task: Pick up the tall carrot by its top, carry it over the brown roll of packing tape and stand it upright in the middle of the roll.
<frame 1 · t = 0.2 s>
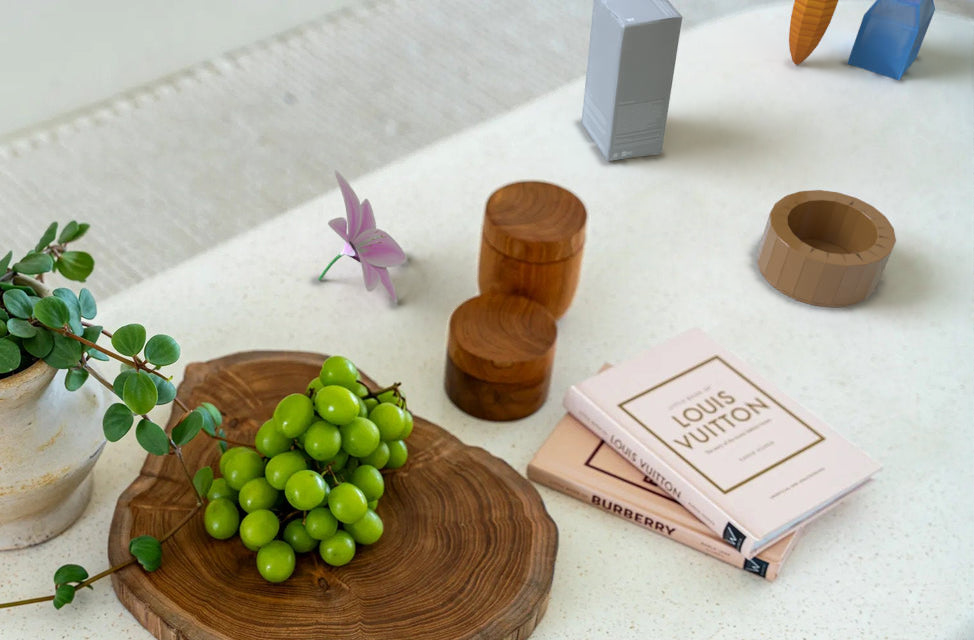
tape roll: (816, 268, 110), on the table
carrot: (795, 65, 135), on the table
cosmetic box: (615, 139, 125), on the table
lily: (363, 283, 108), on the table
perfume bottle: (881, 62, 136), on the table
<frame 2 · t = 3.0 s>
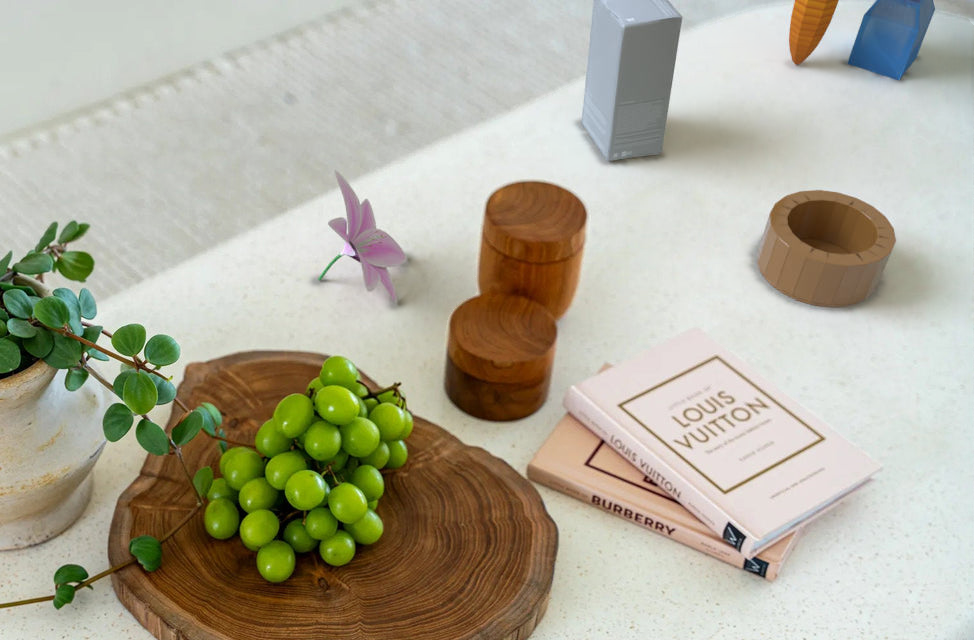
carrot: (795, 65, 135), on the table, touching gripper
everything else where it was.
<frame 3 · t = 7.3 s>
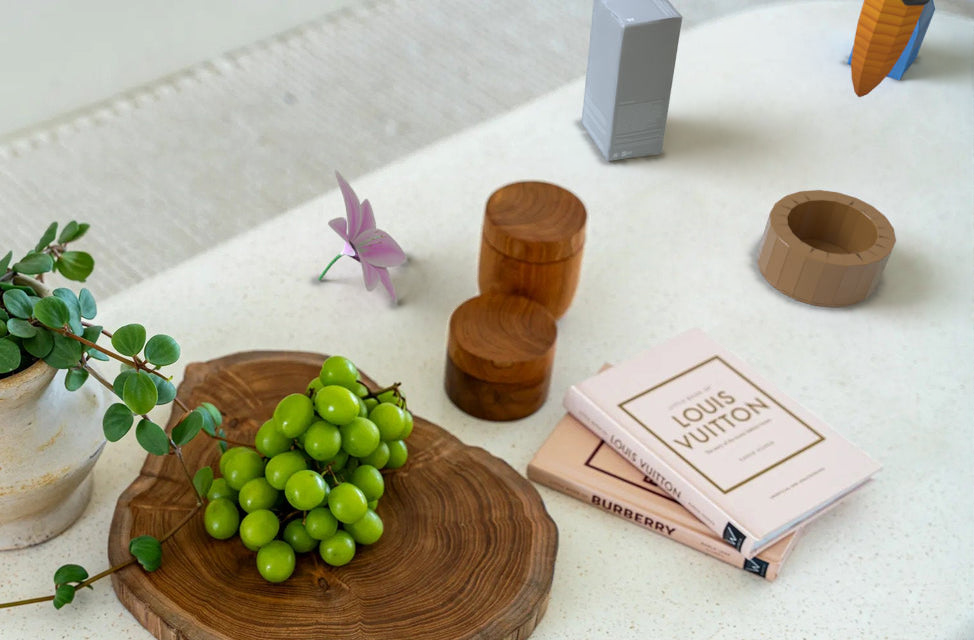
carrot: (858, 98, 103), point 15 cm above the table, touching gripper
everything else where it was.
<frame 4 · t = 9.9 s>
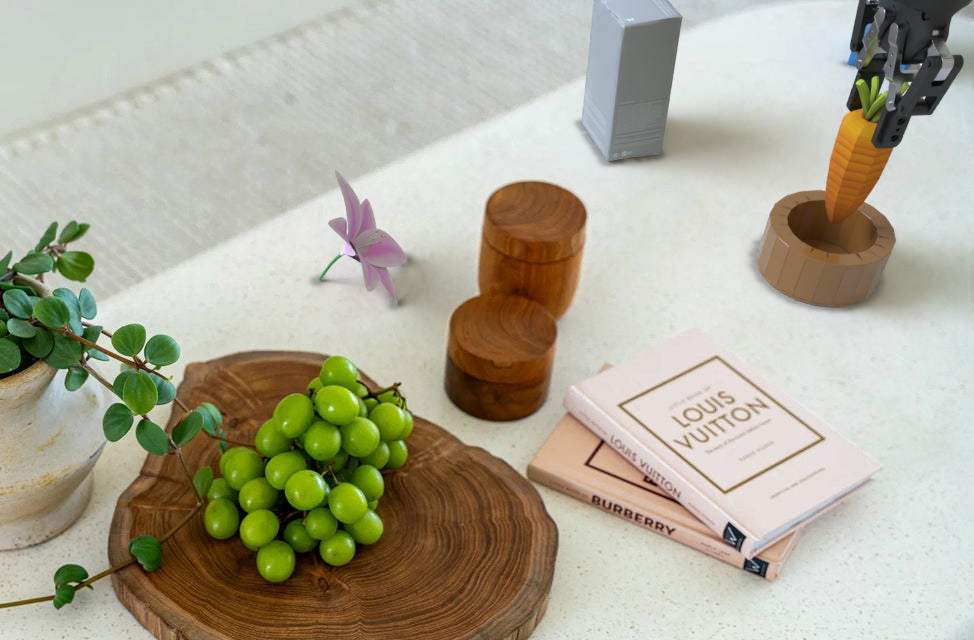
hand: (870, 126, 98), 16 cm above the table, tool pointing down, fingers closed on carrot, 5 cm apart
carrot: (832, 225, 106), point 5 cm above the table, touching gripper
everything else where it was.
when the fingers open (11 cm above the table, at t = 11.6 s): carrot stays where it is, resting on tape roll.
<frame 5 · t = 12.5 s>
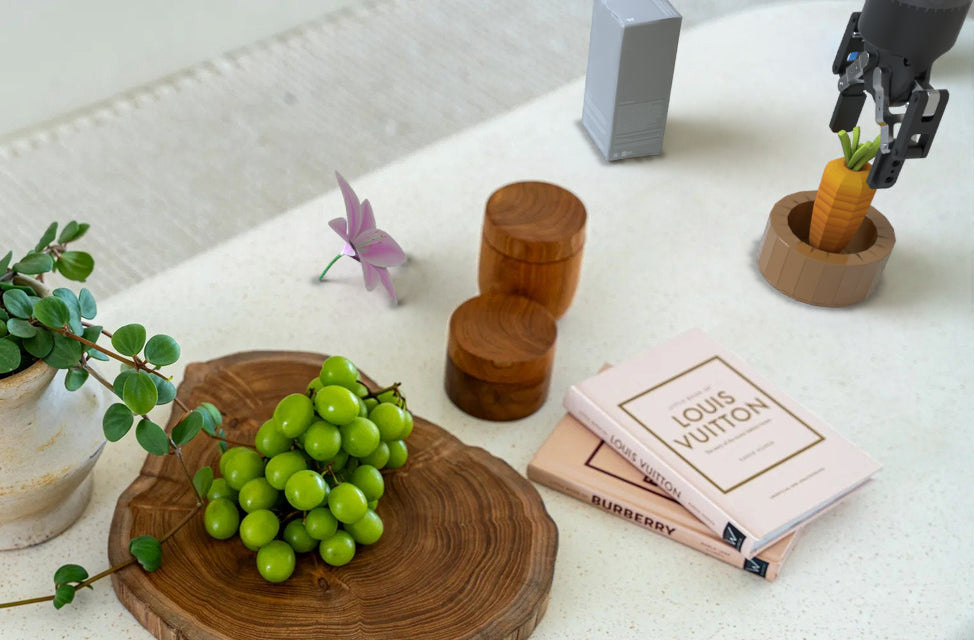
hand: (858, 157, 101), 13 cm above the table, tool pointing down, fingers open, 8 cm apart
carrot: (817, 266, 110), resting on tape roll
everything else where it was.
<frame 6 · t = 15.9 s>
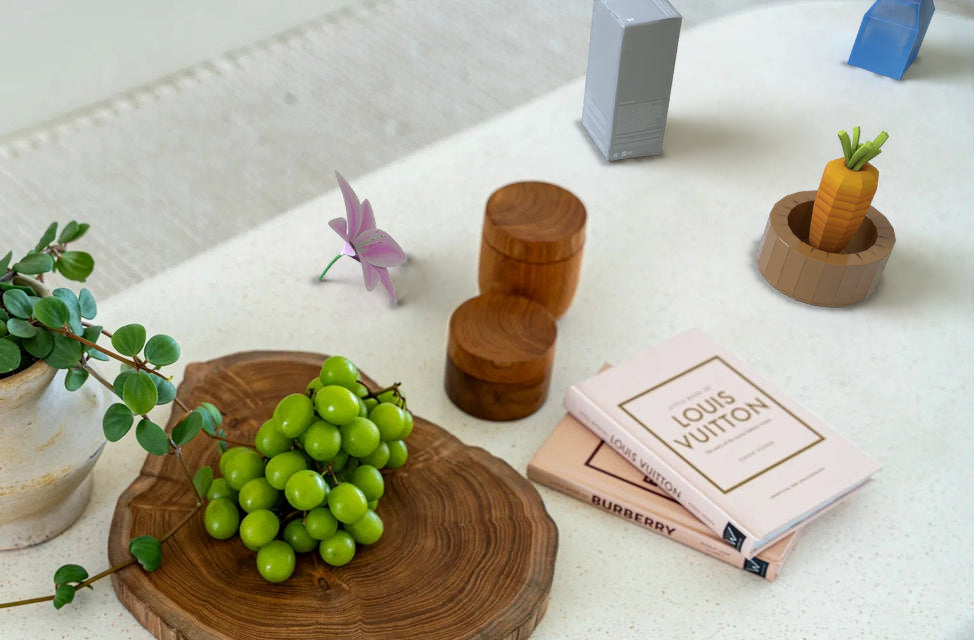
nothing on the table moved.
at the end: carrot 0.1 cm off-centre in the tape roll, point 0.1 cm above the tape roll's base; carrot tilted 0°; the gripper is holding nothing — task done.
